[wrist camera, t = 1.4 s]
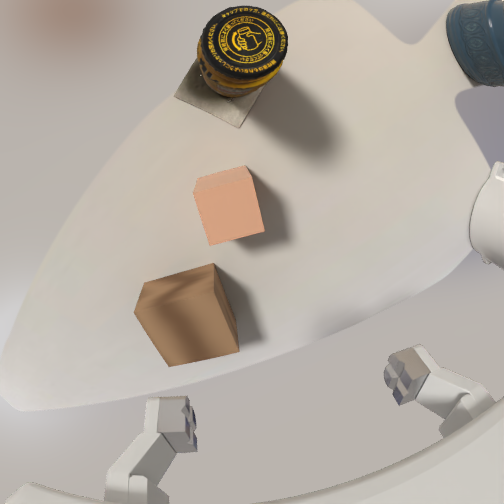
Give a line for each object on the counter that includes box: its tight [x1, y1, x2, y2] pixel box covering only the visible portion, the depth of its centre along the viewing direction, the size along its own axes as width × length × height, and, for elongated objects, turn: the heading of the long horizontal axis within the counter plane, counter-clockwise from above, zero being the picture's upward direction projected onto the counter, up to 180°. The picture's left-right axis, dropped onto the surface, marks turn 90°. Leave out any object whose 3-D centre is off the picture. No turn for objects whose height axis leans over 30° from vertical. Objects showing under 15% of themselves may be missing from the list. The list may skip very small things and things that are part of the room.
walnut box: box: [134, 263, 239, 367], centre depth 33 cm, size 9×9×6 cm
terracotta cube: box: [193, 166, 265, 246], centre depth 27 cm, size 5×5×6 cm
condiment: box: [174, 6, 288, 128], centre depth 19 cm, size 7×8×12 cm
